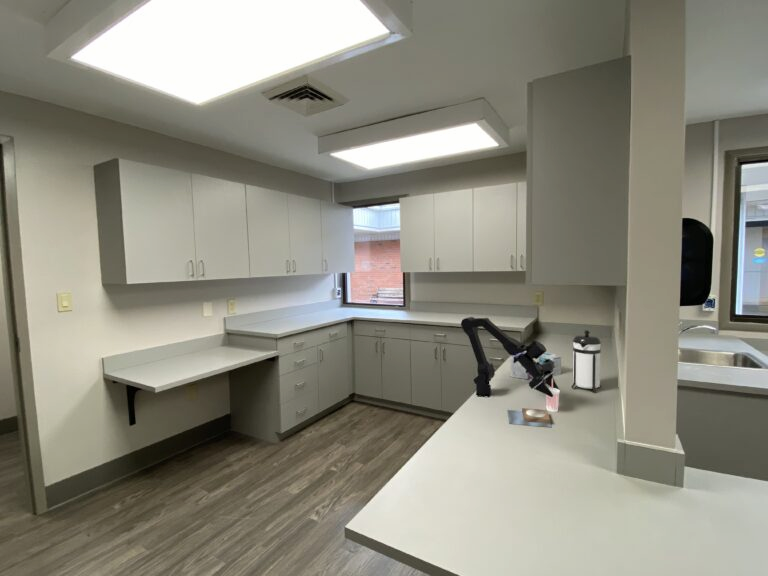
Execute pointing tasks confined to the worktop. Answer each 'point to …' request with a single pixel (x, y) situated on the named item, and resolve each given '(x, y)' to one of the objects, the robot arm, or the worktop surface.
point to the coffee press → (586, 361)
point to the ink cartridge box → (518, 369)
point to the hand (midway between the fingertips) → (555, 393)
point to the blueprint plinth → (519, 419)
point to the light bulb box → (555, 359)
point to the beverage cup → (553, 399)
